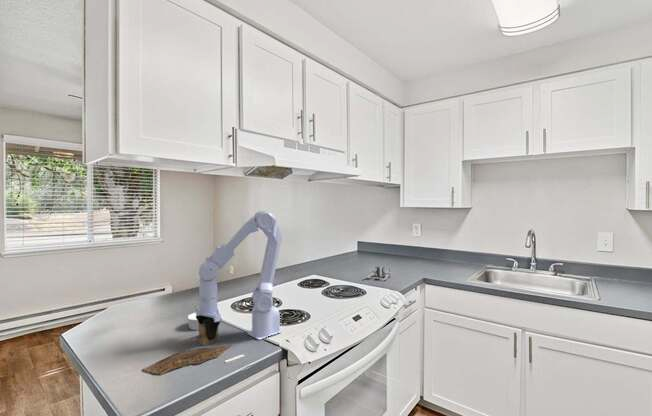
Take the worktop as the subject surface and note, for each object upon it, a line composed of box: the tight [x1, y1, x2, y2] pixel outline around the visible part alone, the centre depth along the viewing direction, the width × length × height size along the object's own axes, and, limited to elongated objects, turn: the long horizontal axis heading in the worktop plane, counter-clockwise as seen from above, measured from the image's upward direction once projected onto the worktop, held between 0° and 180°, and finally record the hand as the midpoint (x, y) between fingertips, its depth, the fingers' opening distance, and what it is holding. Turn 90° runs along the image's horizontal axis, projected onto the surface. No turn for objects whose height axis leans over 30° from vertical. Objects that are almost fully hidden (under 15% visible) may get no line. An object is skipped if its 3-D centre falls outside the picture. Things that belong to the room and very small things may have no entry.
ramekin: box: [187, 312, 199, 331], centre depth 120 cm, size 9×9×4 cm
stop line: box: [224, 354, 246, 364], centre depth 94 cm, size 6×1×1 cm, turn 134°
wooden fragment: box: [141, 344, 232, 376], centre depth 95 cm, size 26×11×1 cm, turn 126°
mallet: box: [178, 323, 219, 346], centre depth 104 cm, size 12×4×6 cm, turn 134°
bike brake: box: [361, 264, 393, 282], centre depth 197 cm, size 14×7×20 cm
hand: (208, 337), depth 106 cm, fingers closed on mallet, 4 cm apart
